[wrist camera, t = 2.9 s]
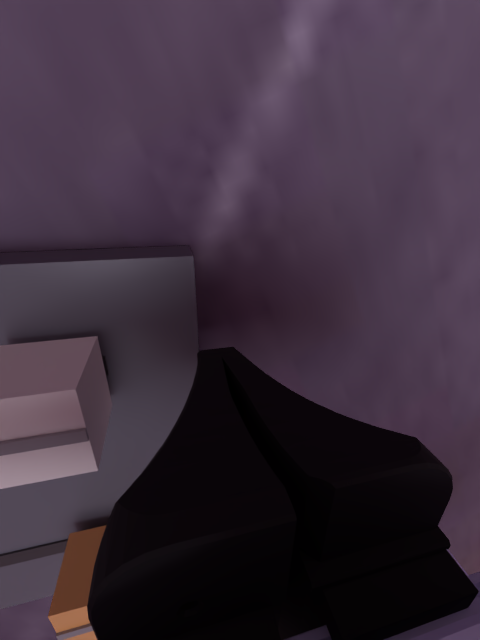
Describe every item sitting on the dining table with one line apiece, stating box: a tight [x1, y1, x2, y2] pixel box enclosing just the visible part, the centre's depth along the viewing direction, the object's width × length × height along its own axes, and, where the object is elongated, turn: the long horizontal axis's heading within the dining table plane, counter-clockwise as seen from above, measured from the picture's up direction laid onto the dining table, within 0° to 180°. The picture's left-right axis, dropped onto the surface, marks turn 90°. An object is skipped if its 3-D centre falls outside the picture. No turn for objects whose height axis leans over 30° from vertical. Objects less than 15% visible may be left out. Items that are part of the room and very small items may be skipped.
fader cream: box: [0, 336, 112, 489], centre depth 9 cm, size 3×3×3 cm
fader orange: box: [48, 525, 106, 640], centre depth 13 cm, size 3×3×3 cm
